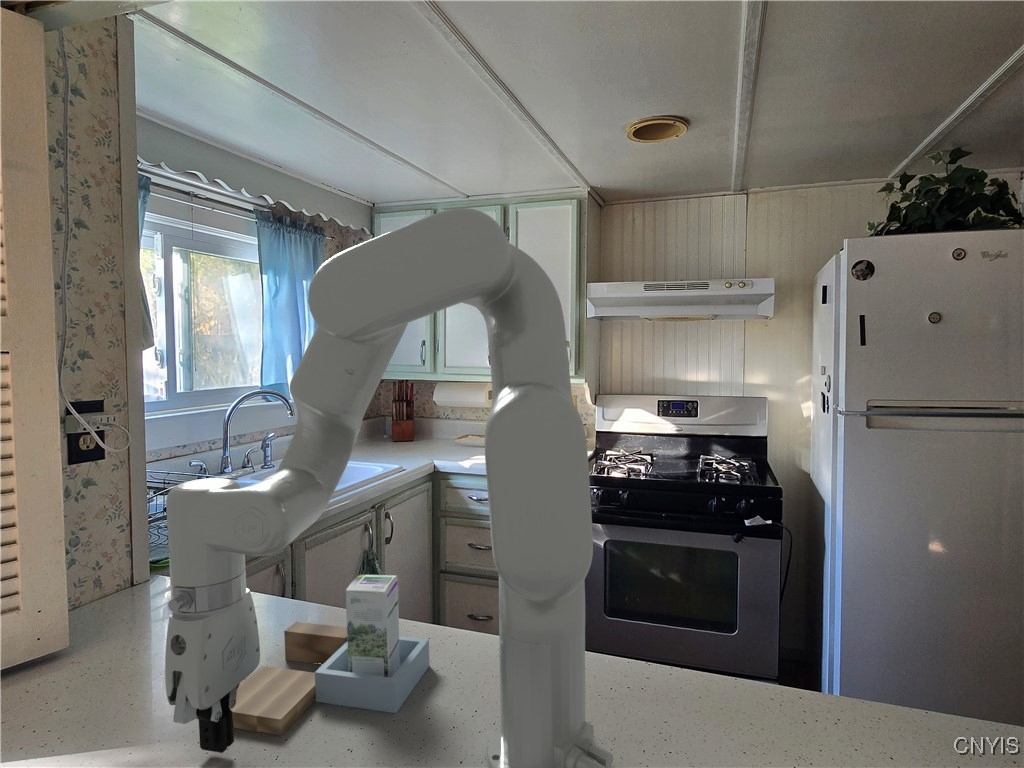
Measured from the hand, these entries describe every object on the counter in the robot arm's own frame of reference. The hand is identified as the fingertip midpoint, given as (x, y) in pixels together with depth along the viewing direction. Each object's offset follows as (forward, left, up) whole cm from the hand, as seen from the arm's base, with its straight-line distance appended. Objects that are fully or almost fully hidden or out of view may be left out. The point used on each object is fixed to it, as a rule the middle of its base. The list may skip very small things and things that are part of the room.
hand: (217, 746), depth 68 cm
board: (+5, -8, -1) cm, 10 cm away
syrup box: (-1, -20, -1) cm, 21 cm away
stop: (+11, -19, -1) cm, 21 cm away
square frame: (-1, -20, -1) cm, 21 cm away
